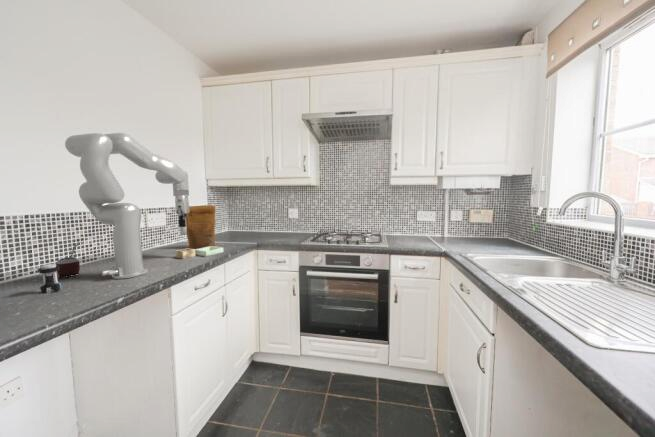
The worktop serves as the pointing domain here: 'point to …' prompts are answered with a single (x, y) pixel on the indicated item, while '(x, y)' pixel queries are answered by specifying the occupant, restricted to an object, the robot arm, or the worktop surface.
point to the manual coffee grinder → (68, 265)
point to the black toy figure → (49, 278)
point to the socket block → (185, 253)
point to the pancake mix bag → (201, 226)
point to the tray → (209, 251)
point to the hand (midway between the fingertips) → (183, 226)
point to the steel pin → (183, 229)
